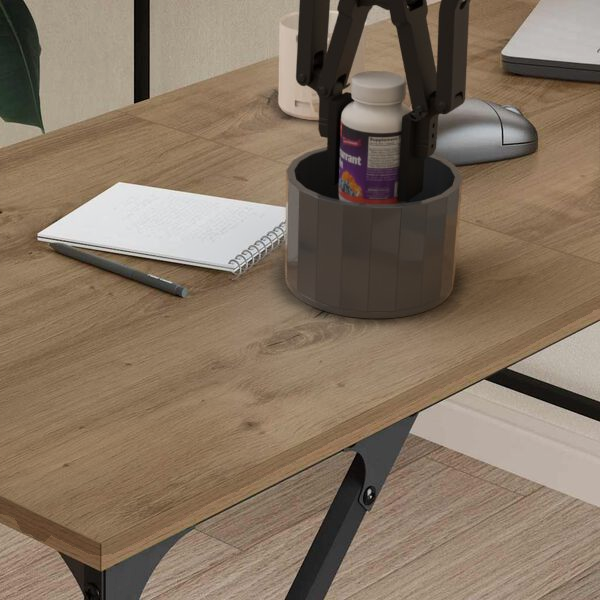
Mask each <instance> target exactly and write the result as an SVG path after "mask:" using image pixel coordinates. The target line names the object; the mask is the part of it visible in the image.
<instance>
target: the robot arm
mask: <svg viewBox="0 0 600 600" xmlns="http://www.w3.org/2000/svg"><path fill="white" fill-rule="evenodd" d="M471 1H472V0H440V3H439V8H438V21H437V23H438V24H437V25H438V26H437V50H436V51H437V52H436V53H437V54H436V61H435V56H434V52H433V47H432V41H431V36H430V30H429V24H428V19H427V16H428V13H429V7H428V2H427V0H338V4H337V8H336V11H338V17H337V20H336V24H335V27H334V30H333V34H332V37H331V41H330V44H329V47H328V51H327V42H328V26H329V10H330V11H331V9H330V6H331V0H299V5H298V12H299V24H298V44H297V63H296V80H297V83H298V84H299V85H301V86H306V85H307V86H309V87H310V88H312V89H313V90H315V91H316V92H317V94H318V96H319V121H318V129H317V130H318V133H319V136H320V137H321V138H326V139H327V140H326V141H327V142H326V147H327V168H326V183H328V184H332V185H335V184H337V183H339V164H340V135H341V115H342V111H343V109H344V108H345V107H346V106H347V105H348V104H349V103H351V102H353V101H354V100H353V99H352V96H351V95H352V94H351V93H348V92H346V93H344V94H342V92H343V90H344V89H345V88H347V87H349V86H350V83H349V84H347V83H348V82H347V81H348V77H349V74H350V71H351V68H352V64H353V61H354V58H355V55H356V51H357V48H358V45H359V42H360V38H361V35H362V32H363V29H364V25H365V22H367V19H368V15H369V13H370V11H371V10H372V9H373V7H375V6H377V7H379V8H381V9H383V10H386V11H389V16H390V21H391V23H392V25H393V26H395V29H396V34H397V39H398V44H399V48H400V54H401V59H402V64H403V69H404V74H405V79H406V86H407V90H408V96H409V100H410V104H411V112H409V113H408V114H406V115H404V116H403V117H402V129H401V146H400V164H399V182H398V200H399V201H403V202H408V201H409V200H410V199H412V198H413V197H415V196H416V195H417V194H419V193H420V192H422V191H423V177H424V162H425V159H426V158H428V157H429V156H431V155H432V154H435V151H436V150H437V140H438V125H439V116H440V115H447V114H449V113H451V112H453V111H454V110H457V108H459V107H461V106H462V105H463V104H464V103H465V101H466V92H467V91H466V90H467V89H466V88H467V70H468V69H467V68H468V67H467V66H468V44H469V43H468V42H469V21H470V3H471ZM346 84H347V85H346Z"/></svg>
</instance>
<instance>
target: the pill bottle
mask: <svg viewBox="0 0 600 600" xmlns="http://www.w3.org/2000/svg"><path fill="white" fill-rule="evenodd" d="M351 94H352V95H351V96H352V99H353V100H354V101H353V102H351V103H349V104H348V105H347V106H346V107H345V108H344V109H343V111H342V115H341V135H340V164H339V199H340V200H342V201H346V202H355V203H364V204H373V205H376V204H403V203H407V202H403V201H399V200H398V182H399V164H400V146H401V129H402V117H403V116H404V115H406V114H408V113H409V112H411V111H412V109H411V108H410V107H409V106H408V105H406V104H405V103H403V102H404V101H405V100H406V95H407V80H406V77H405V76H403V75H401V74H400V73H396V72H393V71H385V70H369V71H368V70H367V71H365V72H362V73H358V74H356V75H354V76H353V77H352V85H351Z"/></svg>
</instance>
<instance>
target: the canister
mask: <svg viewBox="0 0 600 600" xmlns="http://www.w3.org/2000/svg"><path fill="white" fill-rule="evenodd" d="M326 168H327V146H323V147H320V148H316V149H314V150H313V149H312V150H310V151H307V152H305V153H303V154H301V155H300V156H297V157H295V158H294V159H293V160H292V161H291V162H290V164H289V165H288V167H287V168H286V177H285V230H284V272H285V274H284V275H285V276H284V277H285V284H286V286H287V288H288V290H289V291H290V293H292V295H293V296H295V298H297V299H298V300H300V301H301V302H303V303H305V304H307V305H308V306H309V307H312V308H315V309H317V310H320V311H324V312H326V313H330V314H334V315H338V316H342V317H343V316H344V317H348V318H349V317H350V318H357V319H370V320H371V319H378V320H379V319H380V320H381V319H395V318H396V319H397V318H405V317H409V316H414V315H418V314H421V313H425V312H427V311H429V310H432V309H435V308H436V307H438V306H440V305H441V304H443V303H444V302H445V301H446V300H447V299H448V298H449V297H450V295H451V294H452V292H453V290H454V281H455V278H456V266H457V255H458V254H457V253H458V241H459V231H460V218H461V204H462V193H463V180H464V178H463V175H462V174H461V171H460V170H459V168H458V167H457V166H456V165H455V164H453V163H452V162H450V161H449V160H447V159H446V158H445V157H442V156H440V155H438V154H437V155H436V154H435V153H433V154H432V155H431V156H429V157H428V158H426V159H425V162H424V177H423V191H422V192H420V193H419V194H417V195H416V196H415V197H413V198H412V199H410V200H409V201H408V202H407V203H403V204H376V205H373V204H364V203H355V202H346V201H342V200H340V199H339V183H337V184H335V185H332V184H328V183H326Z"/></svg>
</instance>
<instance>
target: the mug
mask: <svg viewBox="0 0 600 600" xmlns="http://www.w3.org/2000/svg"><path fill="white" fill-rule="evenodd" d="M337 17H338V11H337V10H331V9H330V10H329V26H328V42H327V51H328V47H329V44H330V41H331V37H332V34H333V30H334V27H335V24H336V20H337ZM367 23H368V22H367V21H366V22H365V25H364V29H363V32H362V35H361V38H360V42H359V45H358V48H357V51H356V55H355V58H354V61H353V64H352V68H351V71H350V74H349V77H348V81H347V82H348V83H347V84H349V83H350V86H349V87H347V88H345V89H344V90H343V92H342V94H344V93H346V92H348V93H351V85H352V77H353V76H354V75H356V74H358V73H362V72H366V48H367V47H366V45H367ZM298 24H299V11H294V12H290V13H287V14H284V15H282V16H281V17H280V18H279V28H278V29H279V30H278V31H279V32H278V33H279V34H278V35H279V36H278V37H279V38H278V95H277V96H278V98H277V99H278V100H277V102H278V106H279V108H280V109H281V111H282V112H283V113H284V114H286V115H288V116H291V117H294V118H297V119H302V120H306V121H307V120H309V121H318V122H319V96H318V94H317V92H316V91H315V90H313V89H312V88H310V87H309V86H307V85H306V86H301V85H299V84H298V83H297V80H296V63H297V44H298ZM347 84H346V85H347Z"/></svg>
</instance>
